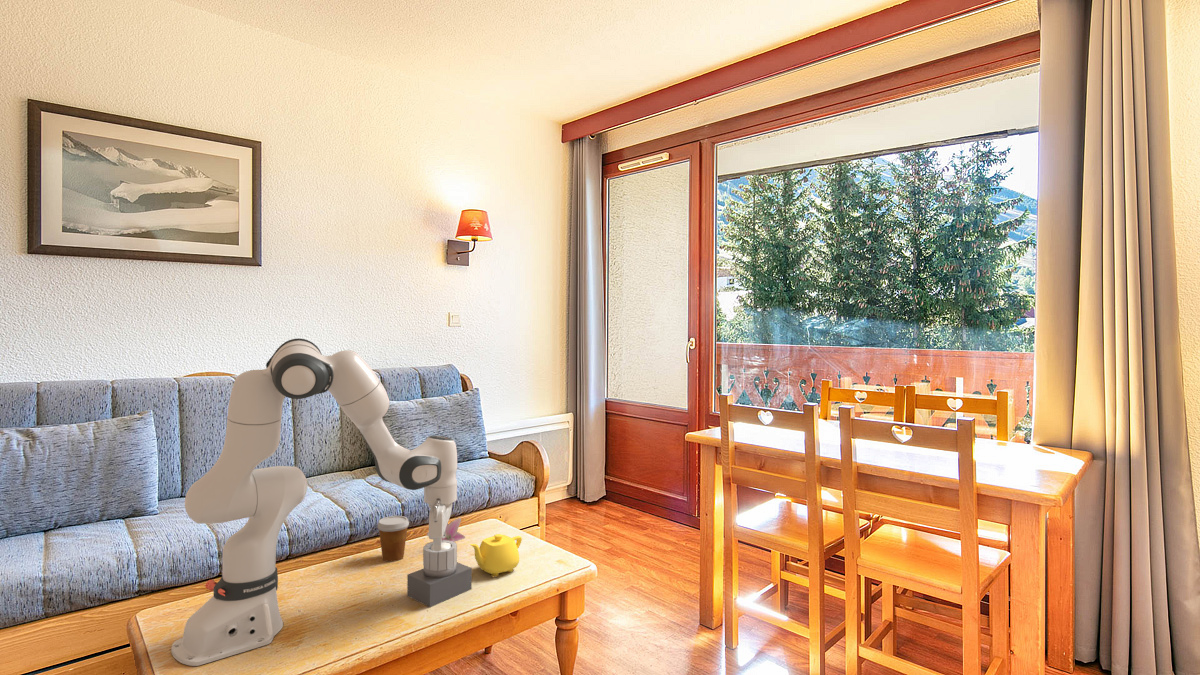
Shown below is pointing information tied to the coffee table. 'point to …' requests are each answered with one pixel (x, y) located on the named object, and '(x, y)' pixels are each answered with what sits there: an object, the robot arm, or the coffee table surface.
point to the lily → (453, 531)
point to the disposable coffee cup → (393, 537)
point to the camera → (439, 576)
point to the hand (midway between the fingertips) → (440, 543)
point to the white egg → (443, 546)
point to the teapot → (498, 554)
